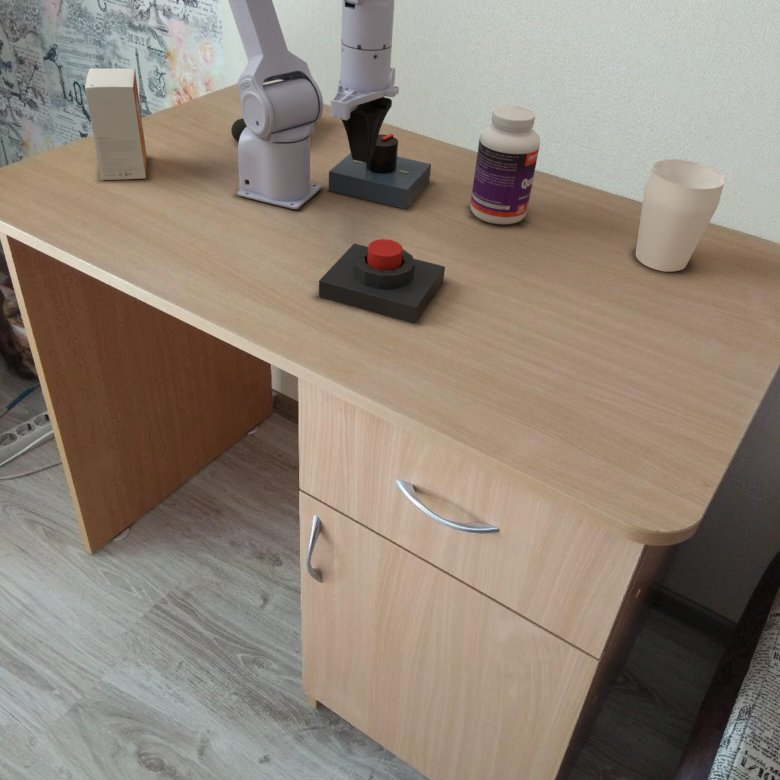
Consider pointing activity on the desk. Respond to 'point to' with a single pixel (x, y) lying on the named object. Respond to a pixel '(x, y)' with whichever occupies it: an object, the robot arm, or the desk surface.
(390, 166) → the dial
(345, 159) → the dial panel
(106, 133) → the small box
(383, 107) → the robot arm
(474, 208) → the pill bottle
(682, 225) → the cup
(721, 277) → the desk surface
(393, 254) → the lid button
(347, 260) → the button housing
